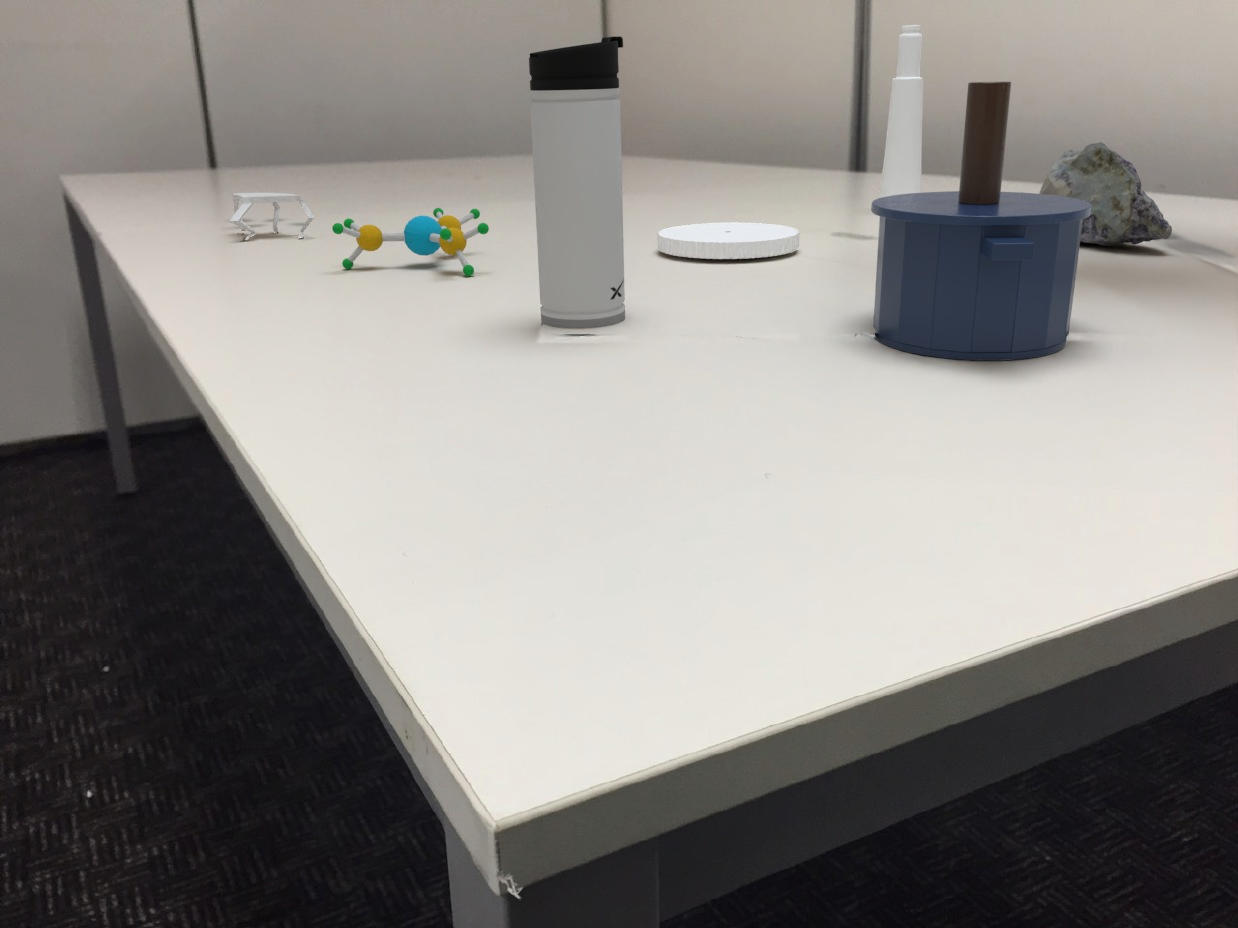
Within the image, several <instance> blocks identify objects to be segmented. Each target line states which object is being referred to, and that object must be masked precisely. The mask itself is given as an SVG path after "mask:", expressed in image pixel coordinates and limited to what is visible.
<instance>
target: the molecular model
mask: <svg viewBox="0 0 1238 928" xmlns="http://www.w3.org/2000/svg"><path fill="white" fill-rule="evenodd" d="M432 214H433V217H435V218H436V219H437V220H436V219H435V218H433V217H431V216H428V215H418V216H414V217H412V218H411V219H409V220H408V222H407V223H406V224H405V226H404V229H403V232H382V230H381V229H380V228H379V227H377V226H376V225H375V224H364V225H362V226H361V227H360V226H359V225H358V224H357V223H355V221H354V219H352V218H346V219H345V220H344V221H343V224H342V223H339V222H336V223H334V224H333V225H332V232H333V233H334V234H336V235H341V234H345V235H348V236H351V237H354V238H355V241H356V243H357V245H358V246H357V248H355V250H354V251H353V252H352V253H351V254H350V256H349V257H347V258H344V259H343V260H342V262H341V265H342V267H343V268H344V269H345V270H351V269H352V268H353V266H354V261H356V259H357V258H358V257H359V256H360V255H361V253H363V251H366V252H375V251H377V250H379V249H380V248H381V247H382V245H383V243H384V242H404V244H405V245H406V247H407V248H408V249H409V250H410V251H411V252H412V253H414V254H415V255H418V256H425V257H426V256H431V255H434V254H435V253H436V252H437V251H439V250H440V249H441V250H442V252H444V253H445V254H447V255H449V256H457V258H458V260H459V262H460V264H461V265H462V267H463V268H462V273H463V275H465V276H467V277H471V276H473V275H474V273H475V268H474V267H473V265H471V264H469V262H468V259H467V258H466V257H465V255H464V253H463V252H464V250H465V249H466V247H467V243H468V242H467V241H468V239H470V238H472V237H475V236H476V235H478V234H480V235H485V234H488V232H489V230H490V227H489V225H488V223H486V222H480V223H479V224H478V225H477V226H476V227H474V228H472V229H470V230H468V231H466V232H463V231H462V225H464V224H466V223H467V222H470V221H471V220H477V219H479V218H480V216H481V212H480V209H477V208H472V209H470V211H469V213H468V214H466V215H464V216H463V217H461V218H459V219H458V218H457V217H455V216H454V215H451V214H450V215H449V214H446V215H444V210H443V209H442V208H441V207H436V208H434V209H433V212H432Z"/></svg>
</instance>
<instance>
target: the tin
mask: <svg viewBox="0 0 1238 928" xmlns="http://www.w3.org/2000/svg"><path fill="white" fill-rule="evenodd" d="M1082 223H1083V219H1081V220H1077V221H1071V222H1064V223H1056V224H1044V225H1025V226H961V225H941V224H927V223H916V222H907V221H900V220H894V219H889V218H884V217H881V216H879V222H878V224H879V225H878V237H877V238H878V241H877V257H876V258H877V259H876V272H875V273H876V274H875V290H874V291H875V292H874V307H873V322H872V325H873V328H874V330H875V331H876V332H874V333H873V334H874V338H875V339H876V340H877V341H878V342H880V343H882V344H883V345H885V346H887V347H890V348H893V349H895V350H899V351H902V352H906V353H910V354H916V355H920V356H926V357H933V358H939V359H940V358H941V359H949V360H961V361H1014V360H1026V359H1033V358H1038V357H1039V358H1040V357H1044V356H1048V355H1051V354H1054V353H1057V352H1059V351H1061V350H1062V349H1064V348H1065V347H1066V345H1067V342H1068V341H1067V339H1068V335H1069V333H1070V325H1071V319H1072V312H1073V311H1072V309H1073V303H1074V296H1075V295H1074V293H1075V286H1076V279H1077V278H1076V277H1077V270H1078V262H1079V253H1080V245H1081V241H1080V239H1081V231H1082Z"/></svg>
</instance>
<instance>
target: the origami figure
mask: <svg viewBox="0 0 1238 928" xmlns="http://www.w3.org/2000/svg"><path fill="white" fill-rule="evenodd" d="M231 195H232V201H233V210H234V214H233V215H232V216H231V218H230V219H229V222H230V223H232V224H234V225H235V226H237V227H239V228H241V231H245V232H248V233H249V234H248V235H247V236H246V237H251V238H253V237H254V236H255V235H256V234H258V231H256V230H255V229H254V228H252V227H251V226H249V225H248V224H247V223H245V222H244V221H243V217H244V216H245V215H246V214H247V213H248V211H249V210H250V209H251V208H252V206H253V205H254V204H264V203H265V204H266V203H271V205H272V206H273V209H274V210H273V221H272V229H273V233H274V232H278V233H279V230H278V226H279V225H278V224H279V217H280V210H281V209H280V208H281V207H280V206H279V204H278V203H290V202H291V203H292V202H294V203H295V202H298V203H299V205H300V206H301V207H302V209H303V211H304V212H305V214H306V216H307V219H306V221H305V222H304V224H303V226H302V227H301V228H300V230H299V235H298V239H299V238H303V239H304V231H305V230H306V229H307V227H308V226H309V225H310V224H311V223H312V221H313V220H314V219H315V216H314V214H313V213H312V212H311V210H310V208H309V207H308V205H307V204H306V202H305V201H304V199H303V198H302V197H301V196H300V195H299V194H294V193H285V192H284V193H282V192H238V193H237V192H236V193H232V194H231ZM239 202H241V205H239ZM252 236H253V237H252Z"/></svg>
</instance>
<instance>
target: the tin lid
mask: <svg viewBox="0 0 1238 928" xmlns="http://www.w3.org/2000/svg"><path fill="white" fill-rule="evenodd" d="M1011 90H1012V81H971V82H968V83H967V94H966V107H965V118H964V129H963V141H962V153H961V164H960V175H959V176H960V177H959V187H958V188H959V189H958V190H955V191H953V190H952V191H925V192H922V193H910V194H900V195H892V196H887V197H882V198H879V199H878V198H876V199H874V200H872V202H871V205H870V206H871V209H870V211H871V213H872V214H874V215H875V216H878V217H880V216H881V217H884V218H889V219H894V220H900V221H907V222H916V223H927V224H941V225H961V226H1025V225H1044V224H1056V223H1064V222H1071V221H1077V220H1081V219H1084V218H1087V217H1089V216H1090V215H1091V208H1092V205H1091V204H1090V203H1089V202H1087V201H1084V200H1080V199H1076V198H1070V197H1064V196H1056V195H1047V194H1039V193H1036V192H1035V193H1033V192H1020V191H1019V192H1018V191H1017V192H1016V191H1002V182H1003V170H1004V163H1005V162H1004V160H1005V152H1006V151H1005V150H1006V141H1007V132H1008V120H1009V112H1010V111H1009V110H1010V101H1011Z"/></svg>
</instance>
